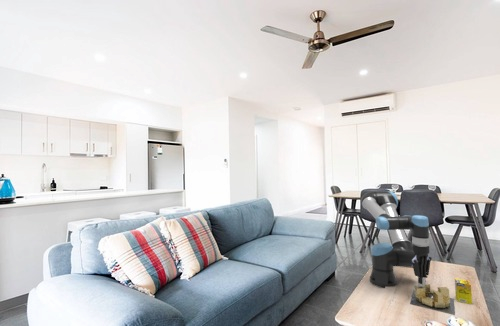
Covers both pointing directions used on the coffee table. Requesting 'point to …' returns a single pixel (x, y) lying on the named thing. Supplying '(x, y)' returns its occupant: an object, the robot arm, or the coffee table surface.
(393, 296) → the coffee table surface
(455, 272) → the coffee table surface
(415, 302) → the flange plate
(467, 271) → the coffee table surface
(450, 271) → the coffee table surface
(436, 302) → the ring nut
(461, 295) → the supplement box
